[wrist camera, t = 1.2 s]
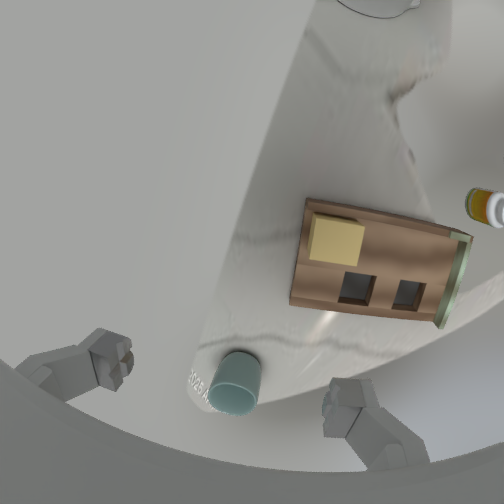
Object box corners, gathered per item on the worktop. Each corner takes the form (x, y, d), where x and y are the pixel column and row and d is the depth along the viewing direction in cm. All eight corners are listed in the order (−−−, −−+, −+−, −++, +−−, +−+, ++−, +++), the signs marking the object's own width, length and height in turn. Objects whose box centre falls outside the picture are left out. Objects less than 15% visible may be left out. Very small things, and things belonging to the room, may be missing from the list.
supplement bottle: (465, 221, 35) (499, 235, 26) (462, 189, 34) (498, 196, 25) (486, 217, 34) (521, 229, 25) (484, 185, 33) (520, 192, 24)
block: (313, 211, 36) (316, 218, 32) (356, 219, 36) (365, 226, 31) (307, 247, 38) (309, 259, 33) (349, 254, 37) (356, 266, 33)
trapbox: (306, 197, 38) (308, 202, 33) (457, 229, 36) (475, 237, 31) (289, 297, 43) (288, 315, 38) (431, 314, 41) (444, 330, 35)
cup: (228, 339, 47) (214, 376, 37) (270, 354, 47) (264, 394, 37) (216, 368, 49) (202, 405, 40) (254, 382, 49) (246, 421, 40)
